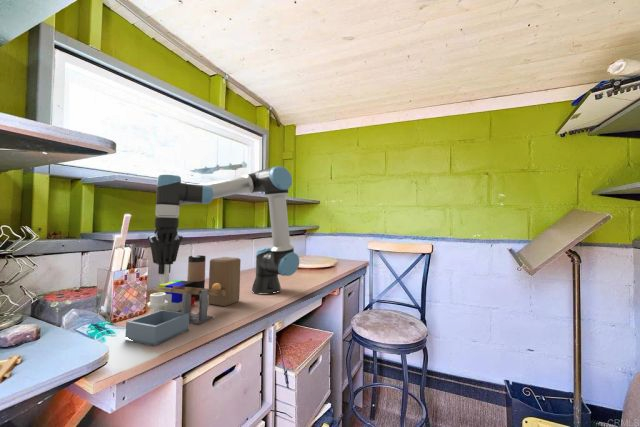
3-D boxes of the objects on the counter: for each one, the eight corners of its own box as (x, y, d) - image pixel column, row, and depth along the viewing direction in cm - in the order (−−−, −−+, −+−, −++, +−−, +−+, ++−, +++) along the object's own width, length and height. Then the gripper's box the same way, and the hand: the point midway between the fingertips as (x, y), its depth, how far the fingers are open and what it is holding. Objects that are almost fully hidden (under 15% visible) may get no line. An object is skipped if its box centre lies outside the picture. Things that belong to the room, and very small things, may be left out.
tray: (161, 325, 92) (162, 309, 92) (188, 330, 89) (189, 313, 89) (125, 340, 80) (126, 321, 80) (154, 346, 77) (155, 326, 77)
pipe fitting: (171, 313, 105) (172, 292, 106) (154, 319, 98) (155, 297, 99) (159, 311, 107) (160, 291, 108) (142, 316, 101) (143, 295, 101)
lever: (198, 293, 115) (200, 285, 116) (225, 296, 111) (227, 288, 111) (153, 290, 94) (156, 281, 95) (184, 294, 90) (186, 284, 91)
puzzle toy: (178, 311, 108) (179, 286, 109) (157, 309, 110) (158, 284, 111) (194, 304, 118) (195, 281, 118) (174, 302, 120) (175, 280, 120)
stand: (189, 314, 104) (190, 285, 104) (213, 318, 100) (214, 288, 101) (174, 320, 97) (176, 289, 98) (199, 324, 94) (200, 292, 94)
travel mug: (199, 300, 123) (201, 257, 124) (183, 300, 123) (185, 257, 124) (206, 296, 131) (208, 255, 132) (191, 296, 131) (193, 255, 132)
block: (207, 304, 118) (208, 258, 119) (222, 298, 127) (224, 256, 128) (225, 307, 114) (226, 260, 115) (240, 301, 124) (241, 257, 125)
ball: (215, 291, 112) (216, 282, 113) (222, 292, 111) (223, 283, 112) (209, 291, 109) (210, 282, 109) (216, 292, 108) (217, 283, 108)
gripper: (174, 217, 104) (170, 278, 103) (142, 216, 92) (138, 285, 90) (189, 217, 102) (186, 280, 100) (159, 216, 89) (155, 287, 88)
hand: (163, 282), depth 95 cm, fingers closed
